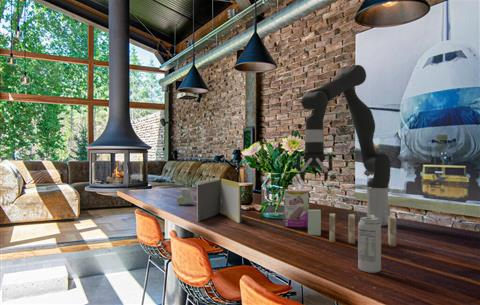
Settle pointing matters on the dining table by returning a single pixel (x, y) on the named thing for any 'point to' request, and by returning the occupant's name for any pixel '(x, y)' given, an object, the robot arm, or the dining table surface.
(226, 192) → the grey folded panel
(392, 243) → the domino
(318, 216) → the domino
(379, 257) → the energy drink can
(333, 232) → the domino
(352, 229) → the domino
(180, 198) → the air freshener
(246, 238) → the dining table surface
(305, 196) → the candy bar box
